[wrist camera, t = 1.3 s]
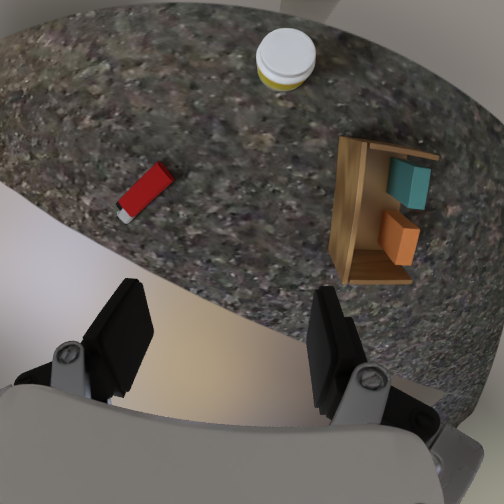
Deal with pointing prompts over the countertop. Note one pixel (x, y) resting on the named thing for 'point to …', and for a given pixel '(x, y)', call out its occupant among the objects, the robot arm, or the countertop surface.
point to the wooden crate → (365, 211)
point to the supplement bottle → (285, 59)
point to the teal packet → (408, 182)
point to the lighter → (144, 192)
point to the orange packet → (398, 237)
